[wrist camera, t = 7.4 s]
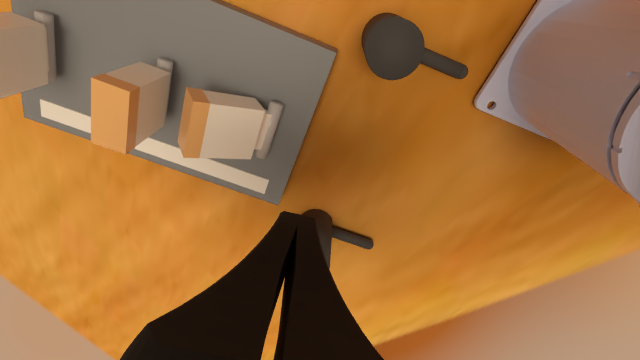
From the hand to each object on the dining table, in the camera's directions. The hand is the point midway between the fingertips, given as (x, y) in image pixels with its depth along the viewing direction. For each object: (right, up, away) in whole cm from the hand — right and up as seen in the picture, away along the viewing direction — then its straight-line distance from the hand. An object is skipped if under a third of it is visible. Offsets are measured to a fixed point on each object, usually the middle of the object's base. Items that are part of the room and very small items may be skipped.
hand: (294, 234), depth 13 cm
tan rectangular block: (-2, +5, +7) cm, 9 cm away
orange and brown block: (-8, +7, +6) cm, 13 cm away
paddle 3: (-14, +9, +5) cm, 18 cm away
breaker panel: (-8, +8, +8) cm, 14 cm away
